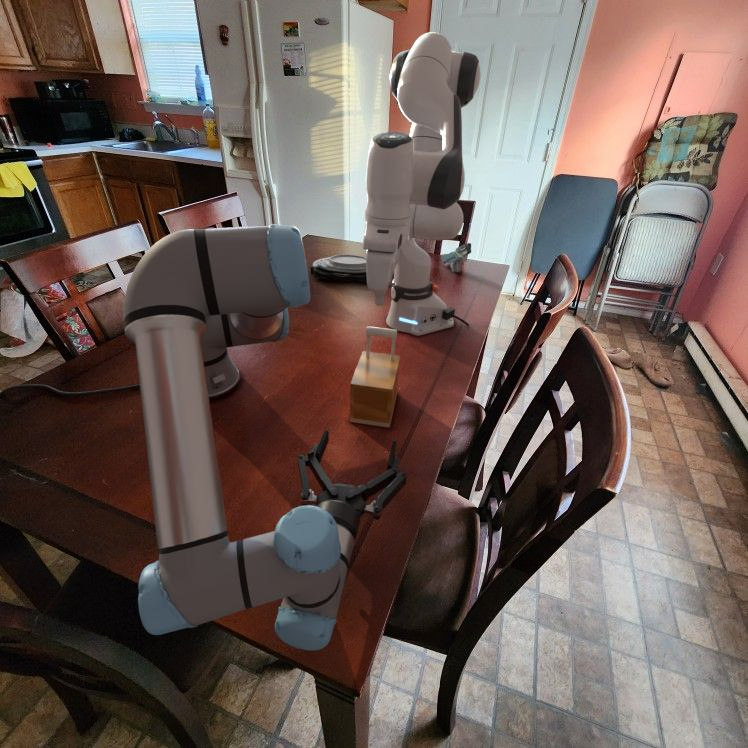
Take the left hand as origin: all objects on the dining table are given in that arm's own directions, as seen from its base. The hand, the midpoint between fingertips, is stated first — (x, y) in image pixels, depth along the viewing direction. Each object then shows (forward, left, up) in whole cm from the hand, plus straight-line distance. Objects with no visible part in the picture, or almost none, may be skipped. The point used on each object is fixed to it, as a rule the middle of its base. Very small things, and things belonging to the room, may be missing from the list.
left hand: (360, 440), depth 81 cm
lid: (0, +19, +4) cm, 19 cm away
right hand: (0, +23, +21) cm, 31 cm away
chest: (0, +18, -6) cm, 19 cm away
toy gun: (+17, +117, -6) cm, 118 cm away
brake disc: (-26, +103, -6) cm, 107 cm away
